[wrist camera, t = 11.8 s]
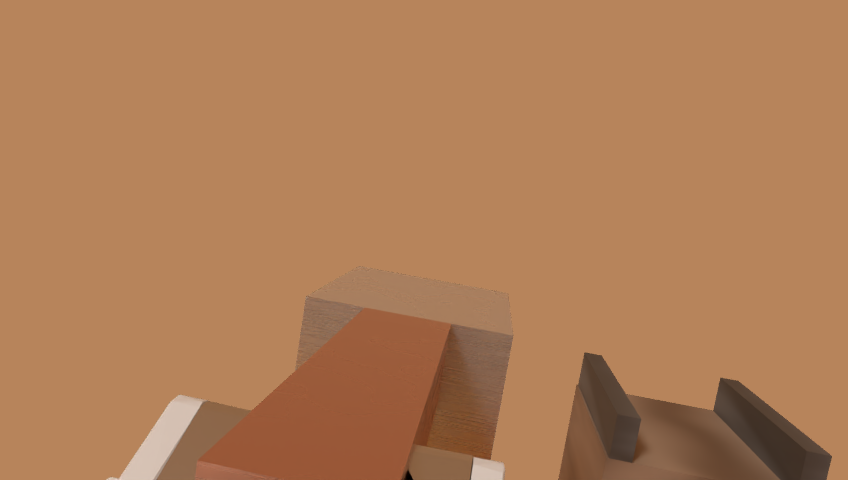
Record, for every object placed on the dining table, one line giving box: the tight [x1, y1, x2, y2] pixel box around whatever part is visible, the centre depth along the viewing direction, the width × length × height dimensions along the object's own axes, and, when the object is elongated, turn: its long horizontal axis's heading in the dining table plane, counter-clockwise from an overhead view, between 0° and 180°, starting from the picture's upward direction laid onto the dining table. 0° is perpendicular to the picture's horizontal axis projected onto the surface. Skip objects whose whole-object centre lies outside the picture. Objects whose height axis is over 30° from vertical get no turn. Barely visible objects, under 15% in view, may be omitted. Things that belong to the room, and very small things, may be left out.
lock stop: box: [195, 266, 513, 480], centre depth 16 cm, size 6×17×5 cm, turn 174°
